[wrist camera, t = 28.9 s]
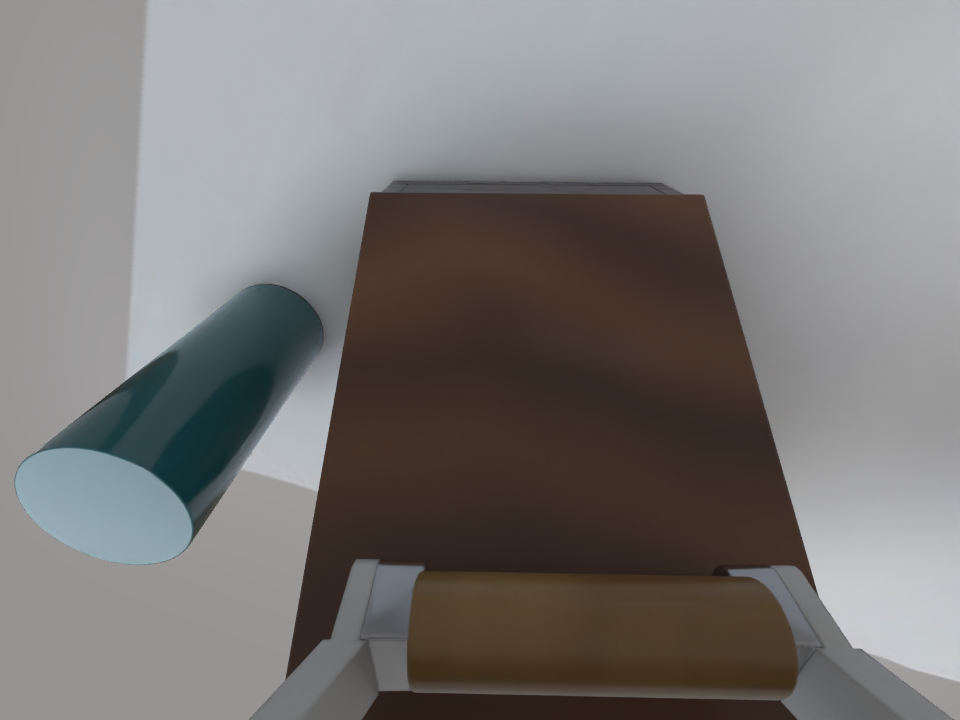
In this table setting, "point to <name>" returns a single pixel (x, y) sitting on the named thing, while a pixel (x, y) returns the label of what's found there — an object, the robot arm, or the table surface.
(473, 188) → the chest
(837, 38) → the table surface
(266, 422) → the canister
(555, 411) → the lid
